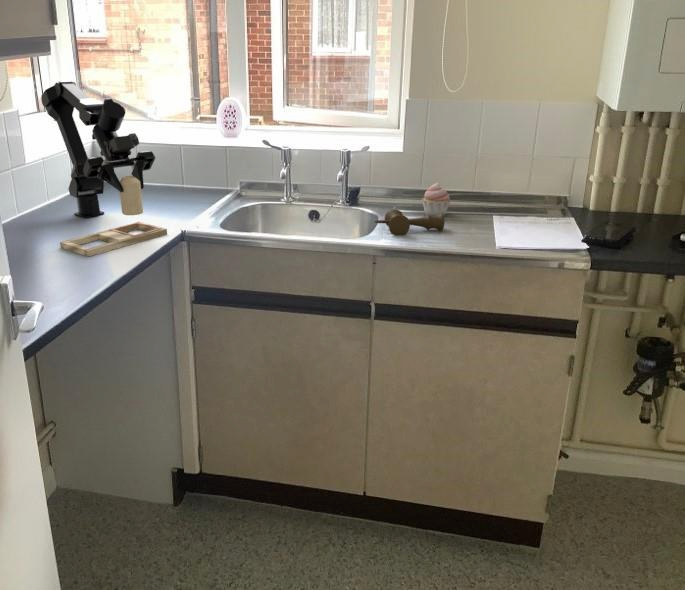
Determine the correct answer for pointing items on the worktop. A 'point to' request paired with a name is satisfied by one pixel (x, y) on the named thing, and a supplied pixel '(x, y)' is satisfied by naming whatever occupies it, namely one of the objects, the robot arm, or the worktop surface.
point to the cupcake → (436, 200)
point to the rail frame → (113, 238)
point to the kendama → (410, 222)
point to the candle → (131, 196)
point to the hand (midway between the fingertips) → (132, 189)
